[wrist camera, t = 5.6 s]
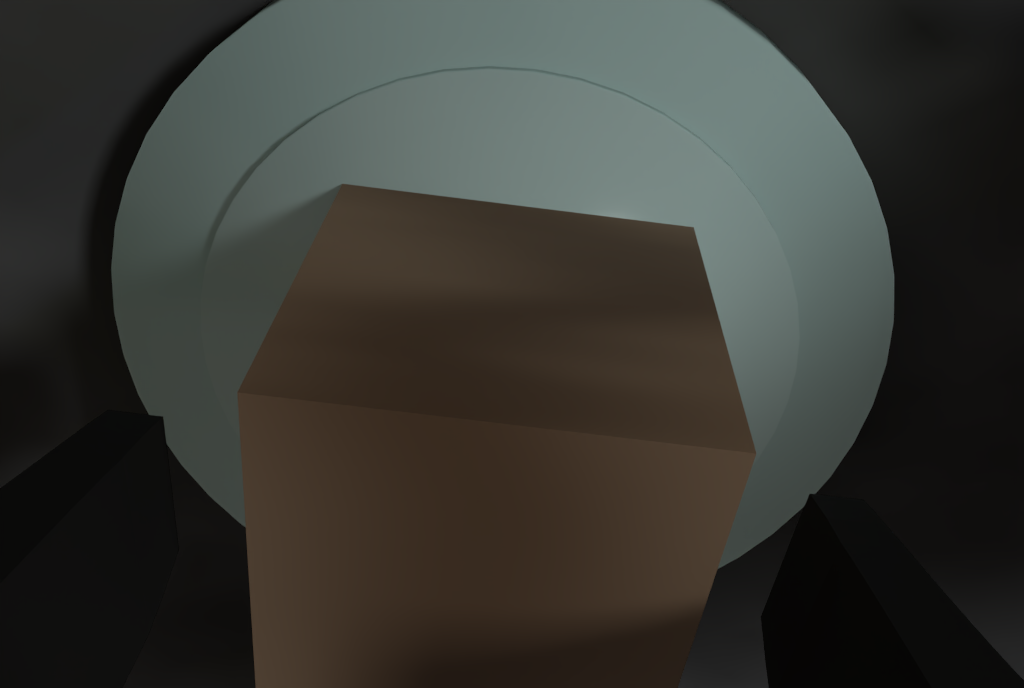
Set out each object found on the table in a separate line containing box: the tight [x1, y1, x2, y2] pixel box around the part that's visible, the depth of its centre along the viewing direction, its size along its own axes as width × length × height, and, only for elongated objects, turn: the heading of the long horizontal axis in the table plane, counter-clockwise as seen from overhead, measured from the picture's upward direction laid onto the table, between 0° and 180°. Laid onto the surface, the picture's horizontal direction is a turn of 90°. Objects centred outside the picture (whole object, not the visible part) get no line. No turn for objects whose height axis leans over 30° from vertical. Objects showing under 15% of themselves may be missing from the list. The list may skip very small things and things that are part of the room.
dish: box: [111, 0, 894, 568], centre depth 14 cm, size 11×11×1 cm
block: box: [237, 184, 756, 688], centre depth 11 cm, size 4×4×4 cm
